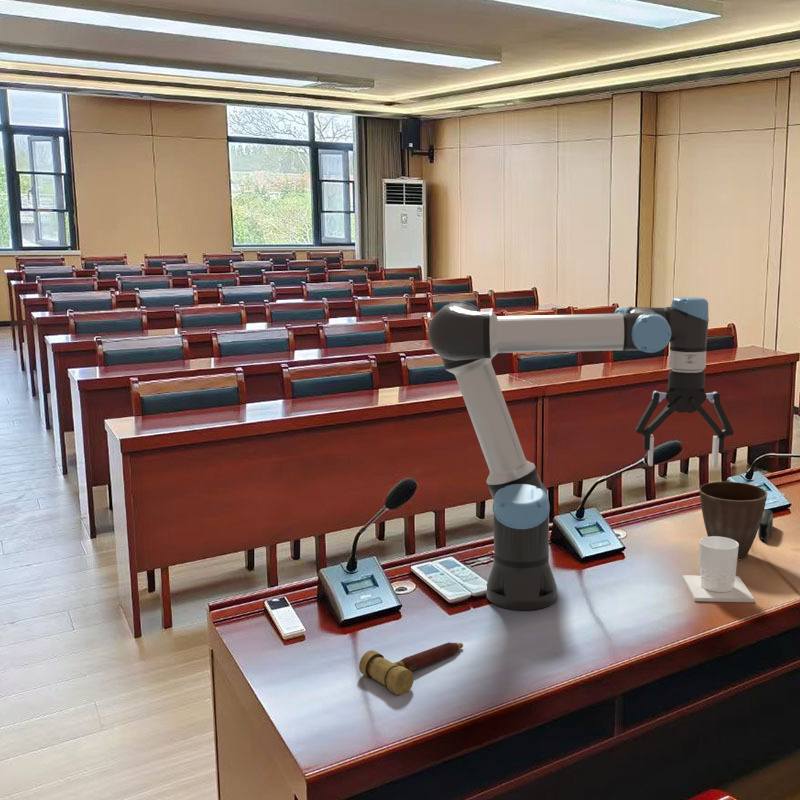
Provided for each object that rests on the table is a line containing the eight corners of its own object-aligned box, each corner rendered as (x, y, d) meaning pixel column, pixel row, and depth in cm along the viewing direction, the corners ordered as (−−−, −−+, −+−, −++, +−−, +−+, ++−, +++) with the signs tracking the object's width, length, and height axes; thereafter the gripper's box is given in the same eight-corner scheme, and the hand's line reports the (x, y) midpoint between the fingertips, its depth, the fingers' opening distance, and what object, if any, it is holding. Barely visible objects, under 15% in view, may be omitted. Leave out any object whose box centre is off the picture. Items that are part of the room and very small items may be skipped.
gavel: (444, 624, 165) (481, 642, 158) (444, 647, 166) (480, 665, 158) (358, 653, 152) (394, 674, 144) (358, 678, 153) (393, 699, 145)
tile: (694, 601, 179) (694, 597, 179) (682, 578, 191) (682, 575, 190) (754, 602, 178) (754, 598, 177) (738, 579, 189) (738, 576, 189)
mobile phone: (761, 507, 223) (757, 523, 210) (773, 508, 222) (771, 525, 209) (760, 525, 224) (756, 543, 211) (772, 526, 223) (770, 544, 210)
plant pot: (777, 562, 198) (781, 496, 195) (719, 569, 195) (722, 502, 192) (739, 541, 212) (742, 479, 209) (685, 547, 209) (687, 484, 206)
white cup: (730, 579, 187) (732, 536, 186) (741, 594, 180) (743, 549, 178) (693, 579, 188) (695, 536, 186) (703, 593, 180) (704, 549, 179)
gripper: (629, 371, 181) (625, 468, 185) (752, 373, 178) (745, 471, 182) (625, 366, 189) (622, 459, 193) (743, 367, 185) (737, 462, 189)
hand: (682, 465), depth 187 cm, fingers open, 13 cm apart
